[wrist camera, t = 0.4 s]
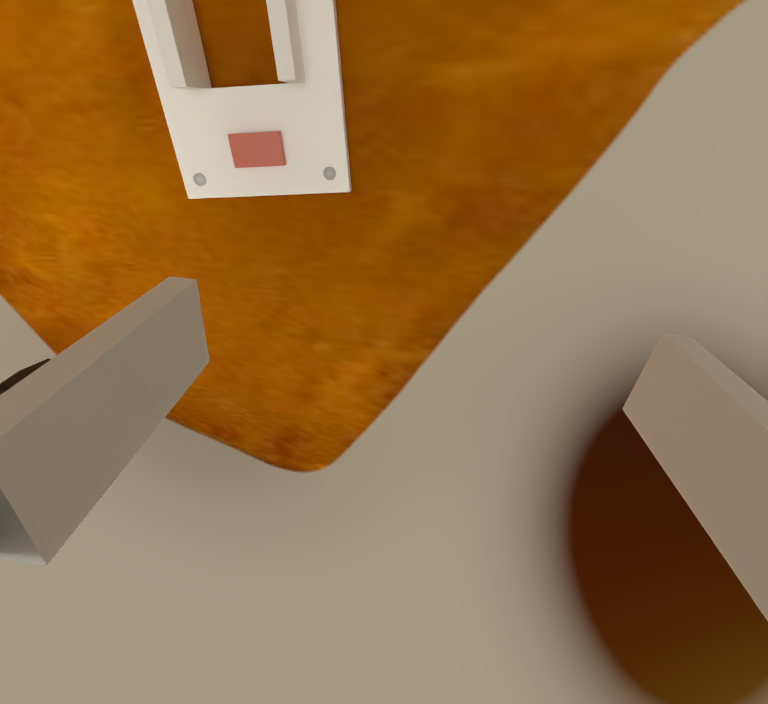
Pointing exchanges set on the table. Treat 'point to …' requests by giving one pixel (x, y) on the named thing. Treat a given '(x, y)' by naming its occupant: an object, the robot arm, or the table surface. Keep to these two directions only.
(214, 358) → the table surface
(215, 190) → the socket
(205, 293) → the table surface
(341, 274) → the table surface
